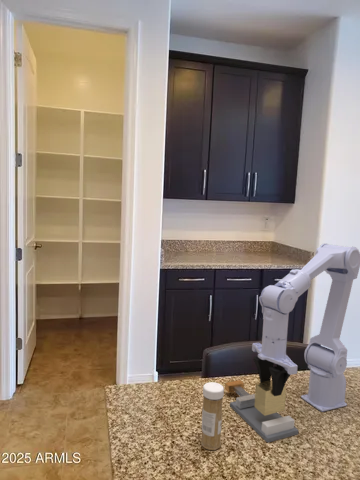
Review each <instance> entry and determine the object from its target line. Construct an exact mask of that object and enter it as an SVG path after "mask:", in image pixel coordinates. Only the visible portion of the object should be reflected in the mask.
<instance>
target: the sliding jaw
mask: <svg viewBox="0 0 360 480" xmlns="http://www.w3.org/2000/svg"><path fill="white" fill-rule="evenodd" d="M224 384H225V385H224V391H226V392H227V393H228V394H231V393H236V395H238V397H236V398H235V401H236V406H237V407H239V408H240V409H242V408H247V407H251V406H255V393H253V394H252V393H251V394H250V393H249V392H248V391H246V390H245V382H243V381H242V380H240V379H238V380H234V381H228V382H225V383H224Z"/></svg>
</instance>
